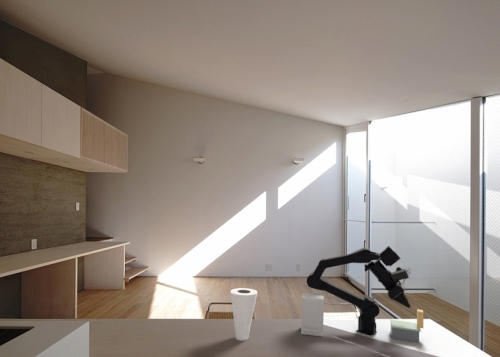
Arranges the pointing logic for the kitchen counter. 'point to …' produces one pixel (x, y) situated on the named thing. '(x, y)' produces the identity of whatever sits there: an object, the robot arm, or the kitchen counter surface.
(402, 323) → the lid
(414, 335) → the tub
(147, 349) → the kitchen counter surface
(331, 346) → the kitchen counter surface
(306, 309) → the supplement box
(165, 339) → the kitchen counter surface
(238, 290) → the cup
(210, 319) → the kitchen counter surface
